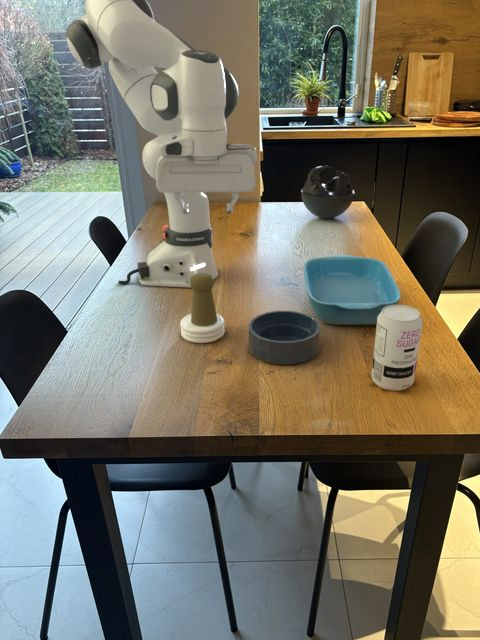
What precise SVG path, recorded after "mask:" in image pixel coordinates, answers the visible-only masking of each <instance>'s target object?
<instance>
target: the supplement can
mask: <svg viewBox="0 0 480 640" xmlns="http://www.w3.org/2000/svg"><path fill="white" fill-rule="evenodd" d="M423 323H424V322H423V319H422V317H421V312H420V311H419V310H418V309H417V308H415V307H414V306H409V305H406V304H397V305H389V306H386V307H384V308H383V309H382V312H381V313H380V314H379V316H378V318H377V324H376V328H375V329H376V330H375V337H374V346H373V356H372V366H371V380H372V381H373V383H374V384H375V385H376V386H378V387H379V388H380V389H384V390H387V391H392V392H399V391H404V390H407V389H408V388H409V387H412V385H413V384H414V382H415V377H416V371H417V365H418V364H417V363H418V356H419V349H420V343H421V337H422V331H423Z"/></svg>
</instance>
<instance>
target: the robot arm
mask: <svg viewBox="0 0 480 640" xmlns="http://www.w3.org/2000/svg"><path fill="white" fill-rule="evenodd" d="M84 3H85V5H84V7H85V8H84V9H85V14H83V15H82V16H81V17H80V18H78V19H74V20H73V21H72V22H71V23H69V25H68V26H67V28H66V31H65V38H66V43H67V46H68V49H69V51H70V54H71V55H72V56H73V57H74V59H75V60H76V61H77V62H78V63H79V64H81V65H82V66H83V67H84V68H87V69H89V70H91V69H96V68H98V67H101V66H102V65H103V64H105V63H107V62H108V70H109V73H110V75H111V78H112V80H113V82H114V85H115V86H116V88H117V91H118V92H119V94H120V96H121V97H122V99H123V100H124V102H125V103H126V105H127V107H128V108H129V110H130V112H131V113H132V114H133V116H134V117H135V119H136V121H137V122H138V123H139V125H140V126H141V127H142V129H144V130H145V131H148V132H149V133H151V134H153V135H156V136H157V137H154V138H152V139H151V140H149V141H148V142H147V143H146V144H145V145H144V147H143V149H142V153H141V154H142V155H141V160H142V164H143V167H144V169H145V171H146V172H147V174H148V175H149V176H150V177H151V178H152V179H154V180H155V186H156V187H155V188H156V189H157V190H158V192H159V193H161V194H163V195H164V197H165V200H166V207H167V213H168V223H169V225H168V224H165V225H163V227H162V239H163V241H162V242H161V243H160V244H158V245H157V246H156V247H155V248H154V249H152V250H151V251H150V252H149V254H148V255H147V258H146V261H140V262H137V268H136V269H132V270H131V271H129V272H128V273H127V275H126V280H118V281H117V283H118V285H128V284H129V283H130V282H131V276H132V275H134V274H137V273H138V283H140V285H142V286H148V287H167V288H168V287H171V288H191V285H190V279H191V277H192V276H193V275H194V274H197V273H208V274H210V275H211V276H212V277H213V280H215V279H217V277H218V276H219V272H218V269H217V266H216V262H215V258H214V252H213V244H214V239H213V238H214V237H213V235H214V234H213V230H212V229H213V227H212V226H211V221H210V201H209V197H208V196H207V195H206V193H231V197H232V199H231V200H230V202H229V203H228V202H227V203H226V214H232V215H234V213H235V209H234V208H235V207H234V206H235V205H236V203H237V202H238V200H239V198H240V195H239V193H252V192H254V190H255V189H256V186H257V185H256V184H257V183H256V181H257V180H256V173H255V171H256V170H255V167H256V165H257V163H258V151H257V149H256V148H255V147H254V146H252V145H251V144H250V143H228V132H227V131H228V129H227V122H226V120H227V119H228V118H229V117H230V115H231V114H232V113H233V112H234V110H235V108H236V107H237V105H238V101H239V86H238V84H237V82H236V80H235V78H234V76H233V75H232V73H231V72H230V71H229V70H228V69H227V68H226V67H224V66H223V63H222V62H223V61H222V60H221V57H219V56H218V55H217V54H215V53H214V52H211V51H207V50H200V49H195V48H194V47H193V46H192V45H191V44H189V43H188V42H187V41H186V40H184V39H183V38H182V37H180V36H179V35H177V34H176V33H174V32H173V31H171V30H169V29H168V28H167V27H164V26H162V24H160V23H158V22H157V21H155V18H154V13H153V9H152V7H151V5H150V3H149V2H148V1H147V0H85V2H84ZM156 68H161V69H164V70H160V71H157V70H156ZM191 289H192V288H191Z"/></svg>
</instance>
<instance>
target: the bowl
mask: <svg viewBox="0 0 480 640" xmlns="http://www.w3.org/2000/svg"><path fill="white" fill-rule="evenodd" d="M247 326H248V349H249V352H250V353H251V355H252V356H253V357H255V358H256V359H258V360H260V361H262V362H266V363H269V364H275V365H295V364H300V363H305V362H307V361H309V360H312V359H313V358H314V357H316V356H317V355H318V353H319V352H320V349H321V335H322V332H321V331H322V327H321V323H320V321H318V320H317V319H316V318H315V317H314V316H311V315H310V314H307V313H304V312H300V311H294V310H273V311H267V312H264V313H261V314H257V315H256V316H255V317H253V318H252V319H251V320H250V321H249V323H248V325H247Z"/></svg>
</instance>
